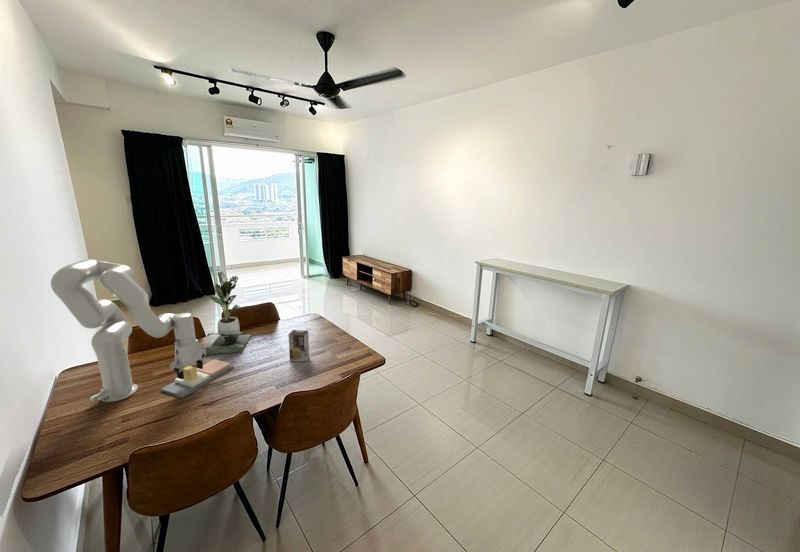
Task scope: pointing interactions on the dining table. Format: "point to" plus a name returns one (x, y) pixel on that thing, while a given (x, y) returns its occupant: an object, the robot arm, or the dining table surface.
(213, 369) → the board
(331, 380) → the dining table surface
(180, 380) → the butter dish
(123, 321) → the robot arm
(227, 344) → the potted plant
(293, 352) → the coffee box
